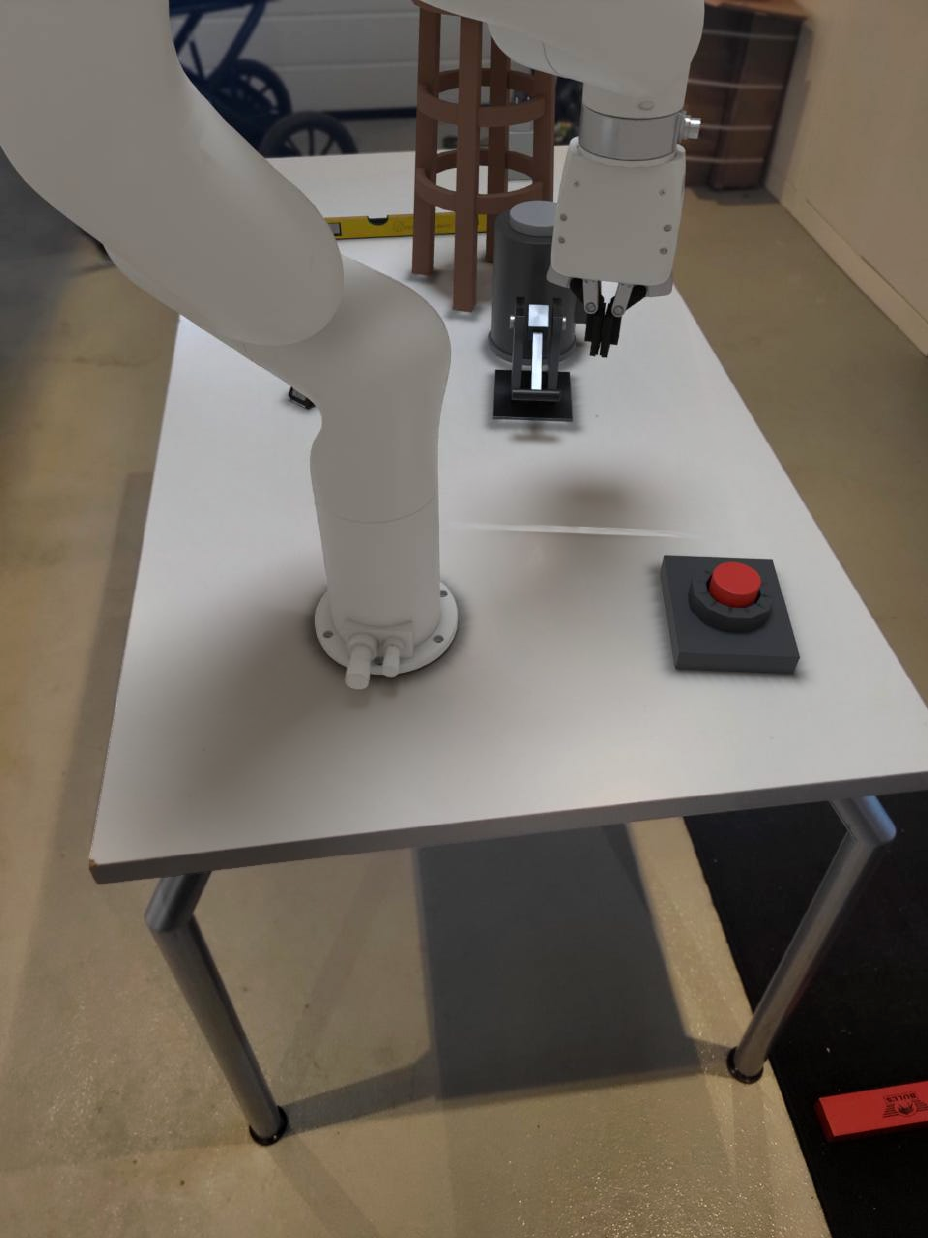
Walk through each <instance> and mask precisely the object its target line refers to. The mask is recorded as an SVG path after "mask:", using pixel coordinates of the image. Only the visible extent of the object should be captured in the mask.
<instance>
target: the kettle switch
mask: <svg viewBox="0 0 928 1238" xmlns="http://www.w3.org/2000/svg"><path fill="white" fill-rule="evenodd" d="M548 328H549V305H529V306H528V318H527V340H532V362H531V366H530V369H531V370H530V371H531V389H528V388H513V389H512V400H535V401H560V390H558V389H542V371H543V366H542V351H543V340H547V336H548Z"/></svg>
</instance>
